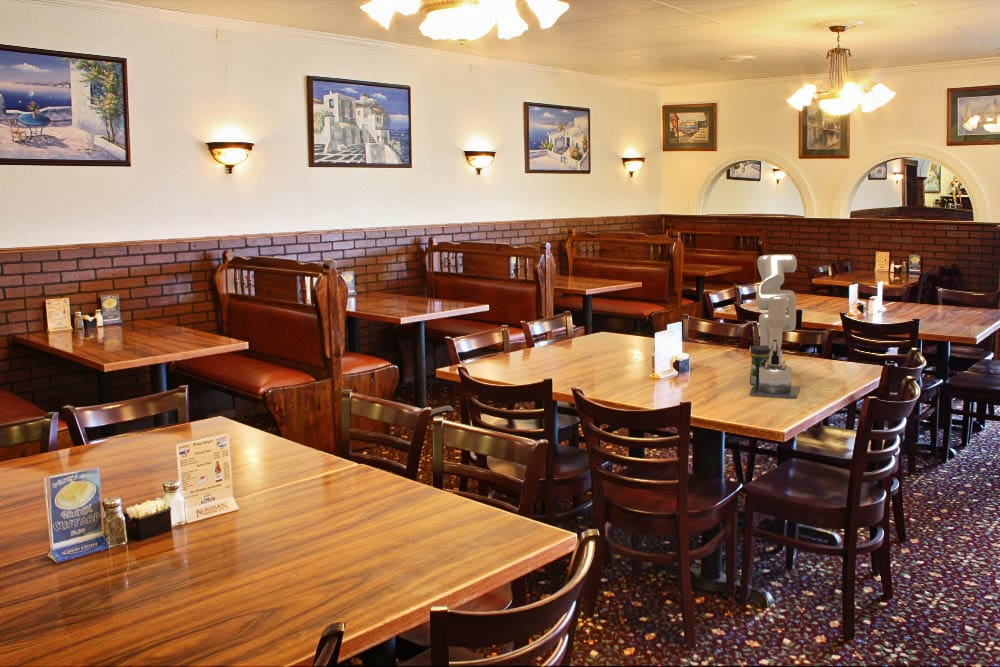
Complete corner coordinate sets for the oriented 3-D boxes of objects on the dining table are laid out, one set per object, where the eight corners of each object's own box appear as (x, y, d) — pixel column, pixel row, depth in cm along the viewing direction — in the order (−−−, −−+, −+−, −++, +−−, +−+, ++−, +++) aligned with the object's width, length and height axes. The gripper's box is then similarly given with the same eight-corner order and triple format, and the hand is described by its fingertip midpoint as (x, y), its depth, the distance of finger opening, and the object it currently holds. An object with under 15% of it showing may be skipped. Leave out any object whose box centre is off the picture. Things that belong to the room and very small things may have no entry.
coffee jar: (764, 381, 425) (765, 343, 422) (773, 384, 417) (775, 346, 414) (746, 383, 422) (747, 345, 419) (755, 386, 415) (756, 347, 412)
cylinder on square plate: (754, 386, 414) (755, 356, 412) (799, 389, 407) (800, 358, 404) (749, 395, 396) (750, 364, 394) (796, 398, 388) (797, 367, 386)
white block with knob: (770, 363, 402) (770, 346, 401) (781, 363, 401) (782, 347, 399) (769, 365, 398) (769, 348, 397) (780, 365, 396) (781, 349, 395)
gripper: (769, 320, 405) (768, 359, 408) (766, 326, 390) (765, 366, 393) (786, 321, 403) (785, 360, 406) (783, 326, 387) (782, 367, 390)
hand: (775, 362), depth 399 cm, fingers closed on white block with knob, 4 cm apart
